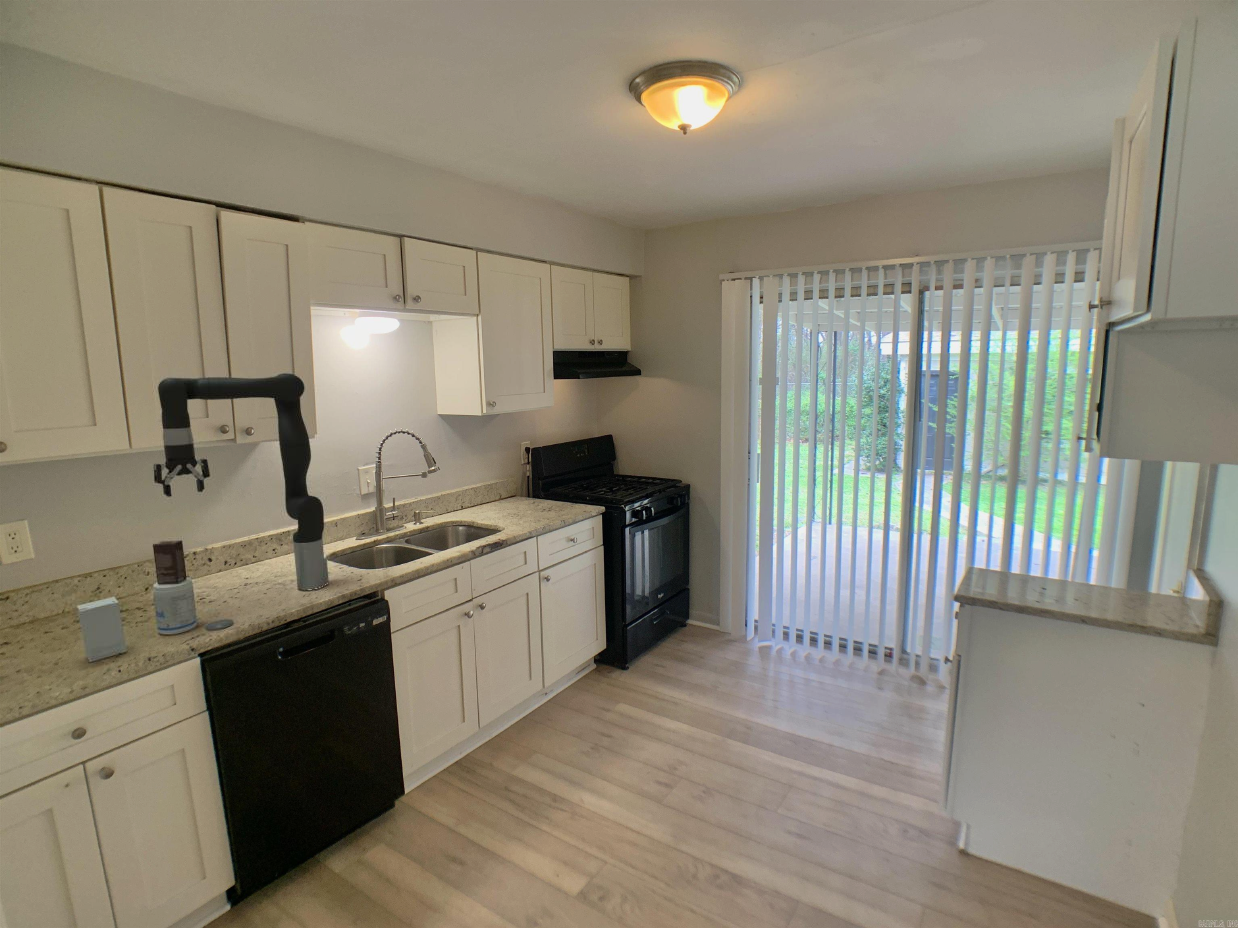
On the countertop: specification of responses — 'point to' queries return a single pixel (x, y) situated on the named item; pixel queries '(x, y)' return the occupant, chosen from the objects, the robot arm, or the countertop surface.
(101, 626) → the skincare box
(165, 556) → the box
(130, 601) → the countertop surface
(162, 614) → the supplement tub
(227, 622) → the slate coaster
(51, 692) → the countertop surface
